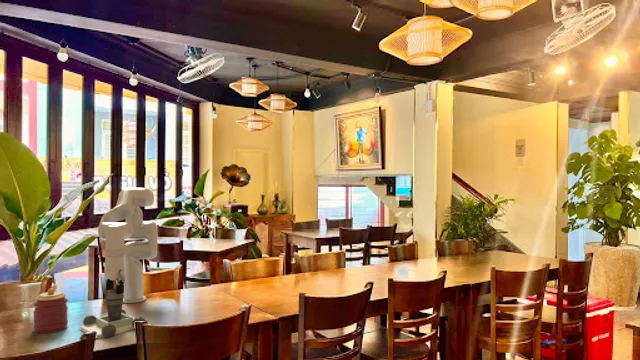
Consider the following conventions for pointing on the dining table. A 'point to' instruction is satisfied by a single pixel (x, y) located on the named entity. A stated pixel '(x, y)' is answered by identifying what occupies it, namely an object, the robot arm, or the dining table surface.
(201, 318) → the dining table surface
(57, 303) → the canister
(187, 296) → the dining table surface
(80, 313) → the dining table surface
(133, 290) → the robot arm
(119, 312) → the beverage cup
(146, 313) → the dining table surface
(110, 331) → the chassis bay
